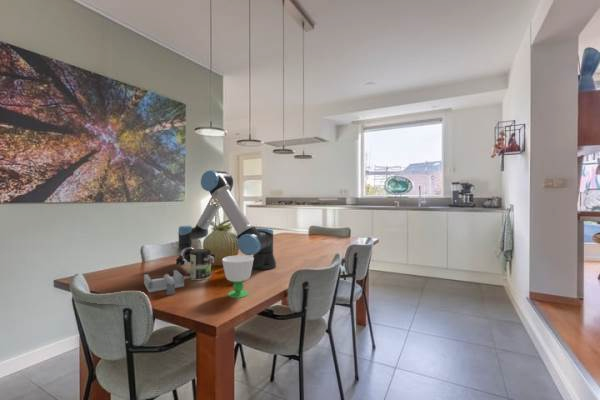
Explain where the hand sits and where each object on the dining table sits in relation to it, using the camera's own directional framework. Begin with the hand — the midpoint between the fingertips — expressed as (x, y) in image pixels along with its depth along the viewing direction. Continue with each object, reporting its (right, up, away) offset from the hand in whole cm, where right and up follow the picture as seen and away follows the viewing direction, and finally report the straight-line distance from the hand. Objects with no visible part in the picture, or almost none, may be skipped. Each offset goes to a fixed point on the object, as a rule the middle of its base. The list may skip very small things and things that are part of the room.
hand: (200, 262), depth 153 cm
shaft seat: (-11, -9, -15) cm, 21 cm away
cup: (+25, -9, -23) cm, 35 cm away
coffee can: (0, -9, +1) cm, 9 cm away
